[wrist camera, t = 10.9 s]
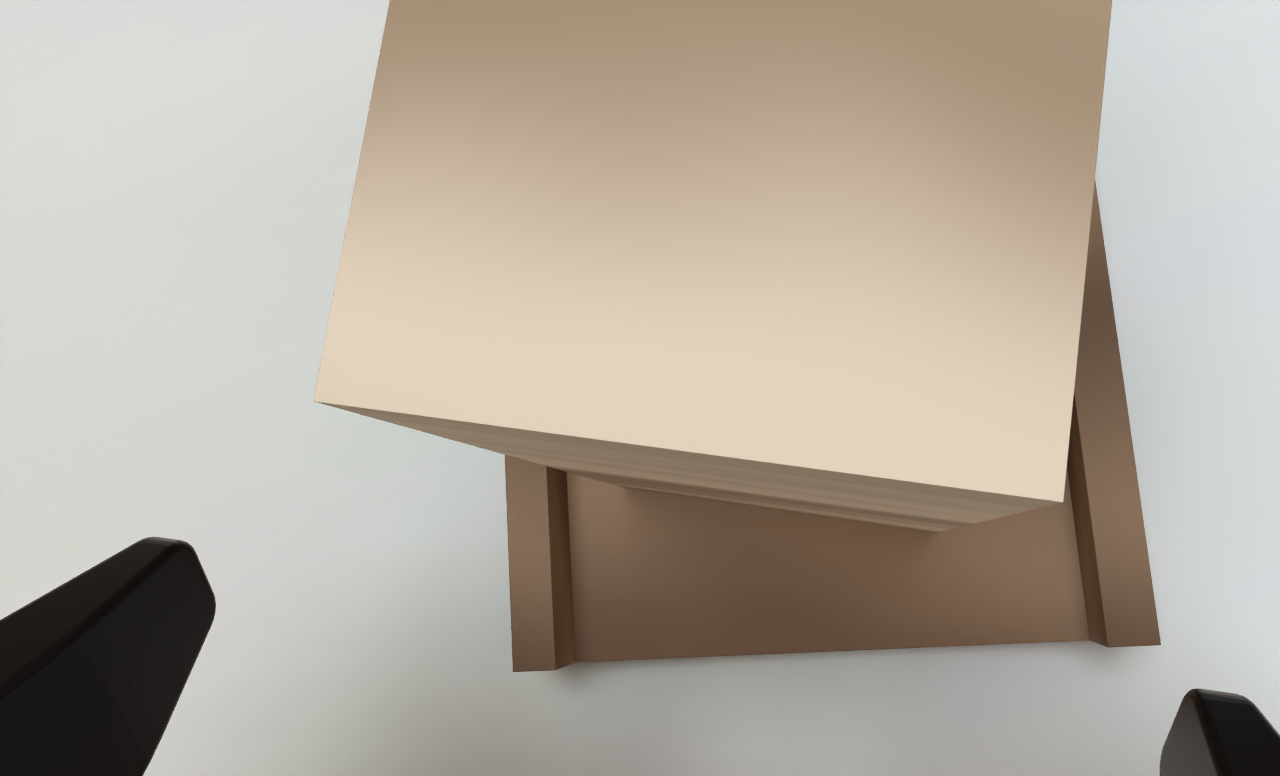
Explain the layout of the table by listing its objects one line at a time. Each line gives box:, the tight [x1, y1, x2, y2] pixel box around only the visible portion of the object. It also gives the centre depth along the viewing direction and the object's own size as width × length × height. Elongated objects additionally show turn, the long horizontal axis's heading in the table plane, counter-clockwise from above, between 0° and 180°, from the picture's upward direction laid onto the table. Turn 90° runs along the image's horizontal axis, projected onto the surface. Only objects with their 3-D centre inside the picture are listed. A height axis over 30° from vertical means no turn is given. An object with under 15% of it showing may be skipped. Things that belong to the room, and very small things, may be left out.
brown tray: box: [505, 181, 1161, 672], centre depth 20 cm, size 11×11×3 cm
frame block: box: [313, 0, 1112, 533], centre depth 14 cm, size 5×6×12 cm
